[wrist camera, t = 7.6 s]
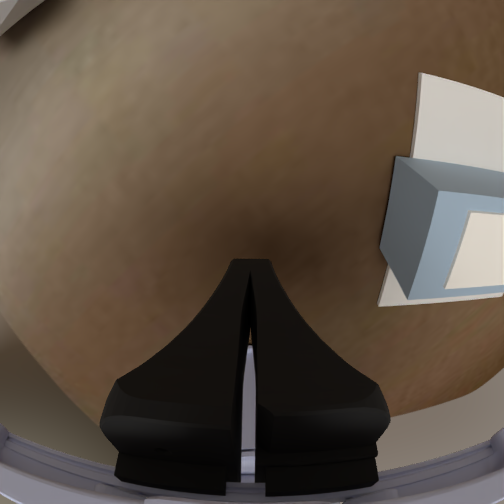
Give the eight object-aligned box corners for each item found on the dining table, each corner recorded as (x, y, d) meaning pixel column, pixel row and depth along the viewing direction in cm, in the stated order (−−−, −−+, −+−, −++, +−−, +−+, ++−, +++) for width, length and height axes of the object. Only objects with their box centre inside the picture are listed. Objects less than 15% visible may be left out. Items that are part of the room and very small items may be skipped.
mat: (499, 293, 22) (501, 296, 22) (377, 302, 22) (378, 306, 22) (552, 119, 13) (556, 120, 13) (418, 72, 14) (421, 73, 13)
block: (379, 248, 19) (491, 248, 19) (409, 303, 15) (528, 291, 15) (396, 156, 16) (513, 174, 16) (441, 192, 11) (562, 209, 11)
